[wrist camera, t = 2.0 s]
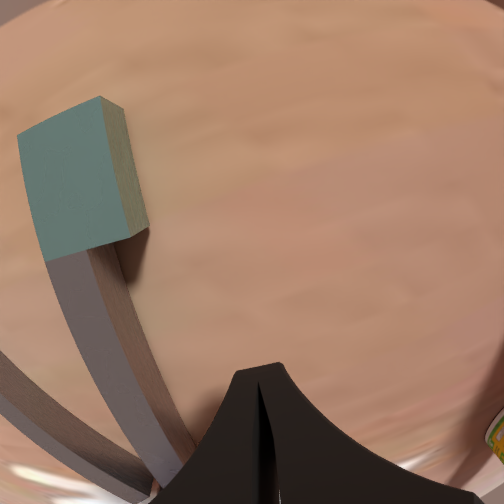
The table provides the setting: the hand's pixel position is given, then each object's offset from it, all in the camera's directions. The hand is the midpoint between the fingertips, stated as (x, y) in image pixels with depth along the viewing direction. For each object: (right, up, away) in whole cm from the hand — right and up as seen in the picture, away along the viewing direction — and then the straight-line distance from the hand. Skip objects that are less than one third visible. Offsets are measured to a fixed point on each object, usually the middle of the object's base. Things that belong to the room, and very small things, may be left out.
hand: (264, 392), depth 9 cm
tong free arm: (-5, 0, +5) cm, 7 cm away
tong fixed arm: (-13, -5, +6) cm, 15 cm away
